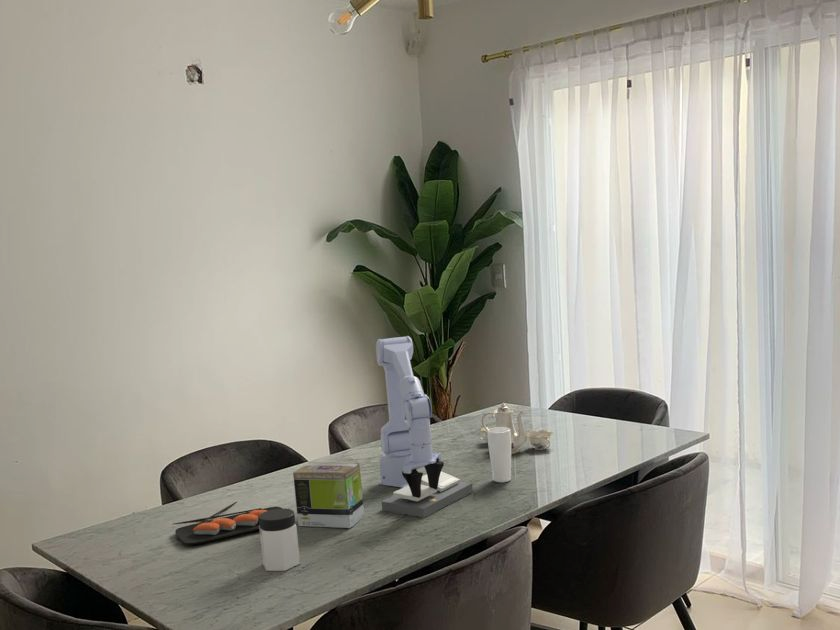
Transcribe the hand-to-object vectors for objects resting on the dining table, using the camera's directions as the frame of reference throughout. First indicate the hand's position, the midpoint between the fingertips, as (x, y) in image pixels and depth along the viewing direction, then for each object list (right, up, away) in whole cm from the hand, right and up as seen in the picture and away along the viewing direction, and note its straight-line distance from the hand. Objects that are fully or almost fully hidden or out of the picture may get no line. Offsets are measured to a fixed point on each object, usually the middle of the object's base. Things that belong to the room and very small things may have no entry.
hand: (425, 493), depth 230 cm
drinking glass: (+22, -1, +21) cm, 30 cm away
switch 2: (+4, +1, +11) cm, 12 cm away
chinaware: (+29, +3, +54) cm, 61 cm away
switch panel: (+1, -4, +7) cm, 8 cm away
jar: (-33, -10, -31) cm, 46 cm away
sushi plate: (-53, -9, +3) cm, 54 cm away
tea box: (-25, -7, -4) cm, 26 cm away
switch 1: (-3, 0, +2) cm, 3 cm away
